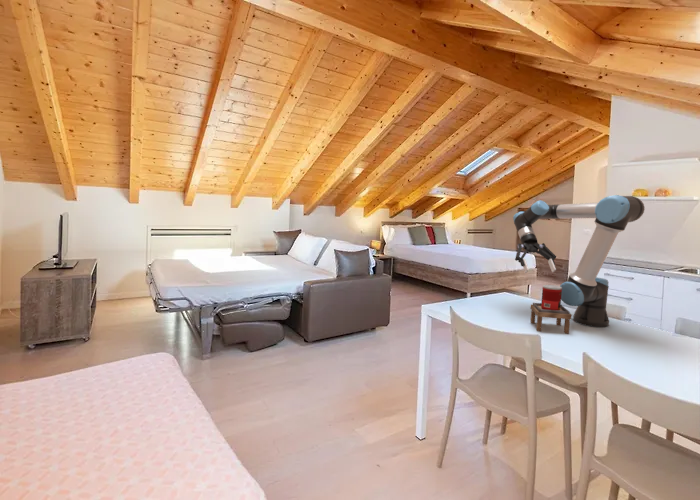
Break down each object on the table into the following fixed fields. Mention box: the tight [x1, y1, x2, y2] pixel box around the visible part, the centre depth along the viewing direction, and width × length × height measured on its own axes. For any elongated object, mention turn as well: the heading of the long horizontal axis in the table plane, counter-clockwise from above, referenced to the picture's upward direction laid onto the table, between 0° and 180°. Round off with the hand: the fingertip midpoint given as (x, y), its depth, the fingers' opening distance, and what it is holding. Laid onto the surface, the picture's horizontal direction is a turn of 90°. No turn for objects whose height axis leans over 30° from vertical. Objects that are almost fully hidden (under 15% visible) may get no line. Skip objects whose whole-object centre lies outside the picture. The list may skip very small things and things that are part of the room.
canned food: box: [540, 284, 562, 311], centre depth 176 cm, size 8×8×11 cm
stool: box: [530, 302, 573, 335], centre depth 178 cm, size 14×14×10 cm
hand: (540, 271), depth 186 cm, fingers open, 13 cm apart
